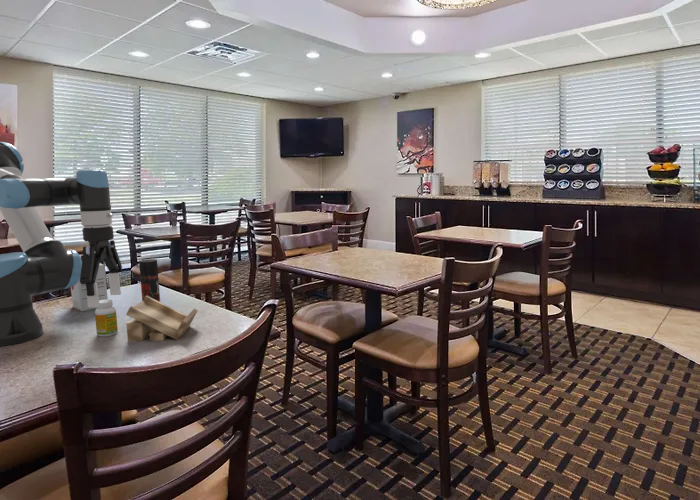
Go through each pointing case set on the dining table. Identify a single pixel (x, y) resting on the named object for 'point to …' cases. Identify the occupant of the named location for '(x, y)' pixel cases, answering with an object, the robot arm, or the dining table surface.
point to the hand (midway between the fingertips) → (105, 300)
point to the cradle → (156, 321)
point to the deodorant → (149, 278)
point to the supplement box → (80, 291)
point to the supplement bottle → (106, 319)
